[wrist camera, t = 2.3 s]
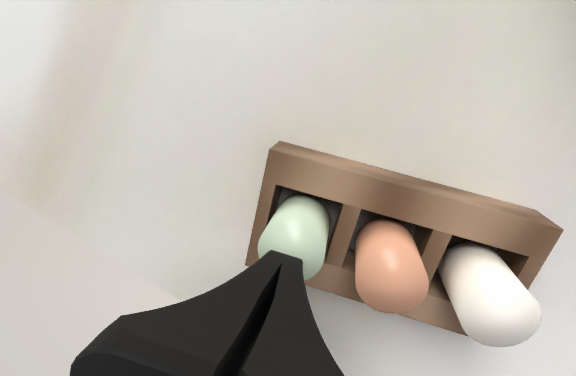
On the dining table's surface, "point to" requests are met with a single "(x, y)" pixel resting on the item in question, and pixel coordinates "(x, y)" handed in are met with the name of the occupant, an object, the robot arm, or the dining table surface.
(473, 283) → the white rounded cylinder
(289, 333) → the robot arm
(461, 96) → the dining table surface
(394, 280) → the salmon pink cylinder
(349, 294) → the wooden three-slot tray
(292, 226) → the button sage
